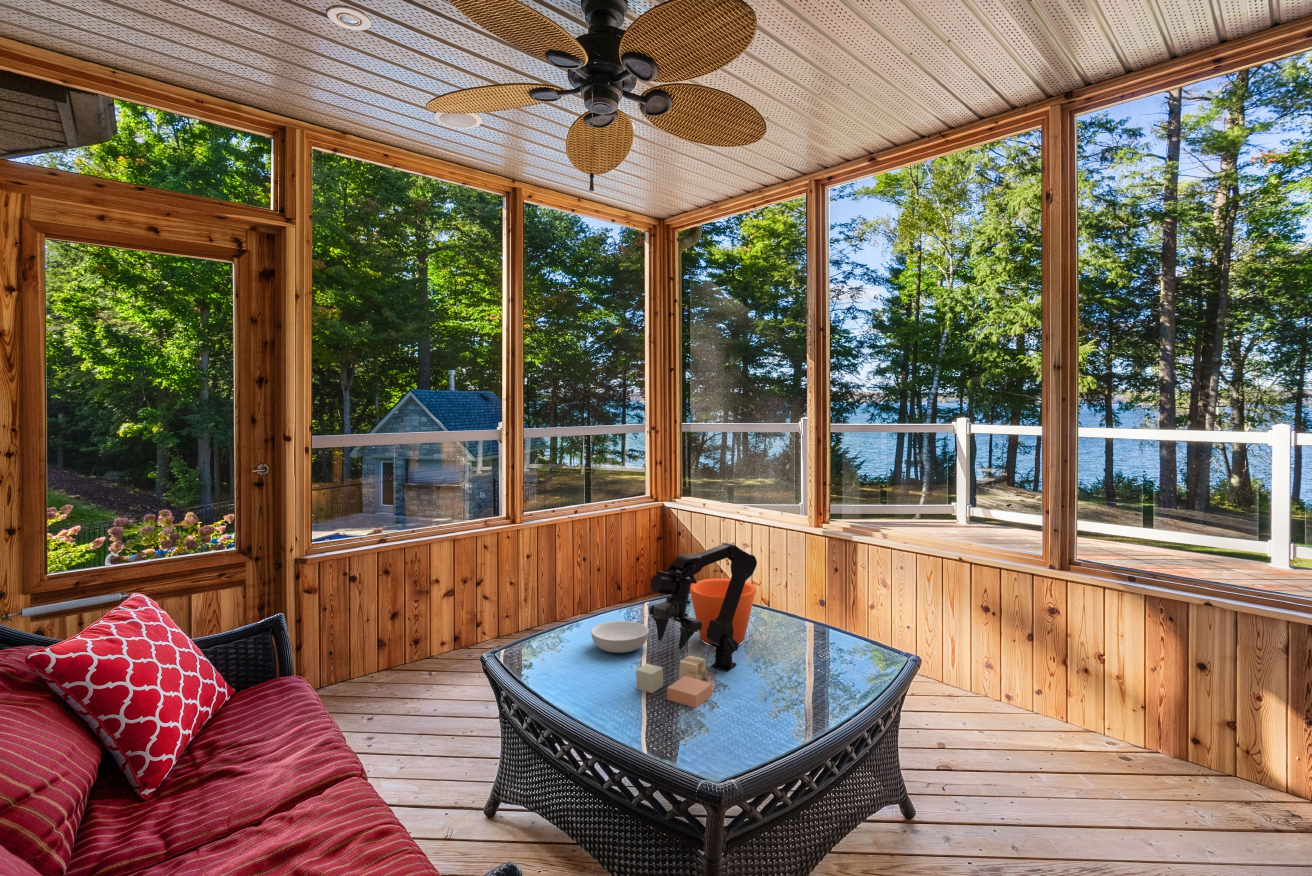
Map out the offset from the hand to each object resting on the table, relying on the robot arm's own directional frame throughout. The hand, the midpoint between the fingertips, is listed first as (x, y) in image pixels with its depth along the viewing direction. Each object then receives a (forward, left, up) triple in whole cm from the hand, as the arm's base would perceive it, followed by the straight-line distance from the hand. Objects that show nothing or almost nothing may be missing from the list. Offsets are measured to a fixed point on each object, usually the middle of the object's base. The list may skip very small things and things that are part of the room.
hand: (669, 644), depth 205 cm
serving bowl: (-15, -31, -13) cm, 36 cm away
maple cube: (-7, +4, -12) cm, 15 cm away
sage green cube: (+6, -4, -12) cm, 14 cm away
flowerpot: (-43, -4, -12) cm, 45 cm away
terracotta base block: (+5, +10, -13) cm, 17 cm away
